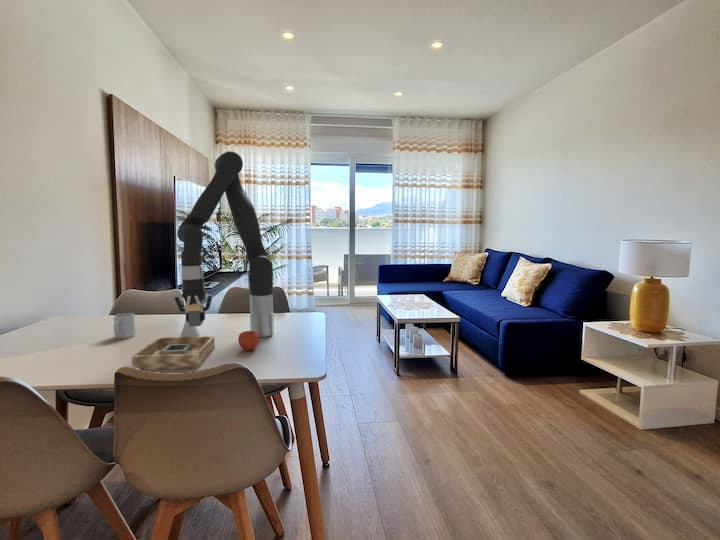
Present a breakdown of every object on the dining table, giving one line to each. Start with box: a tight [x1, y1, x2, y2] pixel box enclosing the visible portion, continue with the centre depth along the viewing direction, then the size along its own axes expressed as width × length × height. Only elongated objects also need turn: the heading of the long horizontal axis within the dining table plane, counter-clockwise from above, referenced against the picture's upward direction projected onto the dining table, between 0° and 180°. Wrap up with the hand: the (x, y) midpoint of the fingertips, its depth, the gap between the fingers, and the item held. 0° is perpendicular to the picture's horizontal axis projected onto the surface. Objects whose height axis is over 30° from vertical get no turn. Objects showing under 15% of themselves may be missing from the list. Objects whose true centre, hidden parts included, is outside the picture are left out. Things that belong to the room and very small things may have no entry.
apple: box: [237, 329, 260, 352], centre depth 151 cm, size 7×7×8 cm
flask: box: [179, 312, 201, 337], centre depth 168 cm, size 7×7×10 cm
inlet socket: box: [160, 344, 193, 355], centre depth 141 cm, size 8×8×3 cm
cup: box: [113, 312, 136, 340], centre depth 166 cm, size 7×10×9 cm
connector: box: [187, 304, 204, 327], centre depth 157 cm, size 5×5×8 cm
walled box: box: [131, 335, 216, 371], centre depth 141 cm, size 20×22×4 cm
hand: (195, 321), depth 157 cm, fingers closed on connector, 4 cm apart
